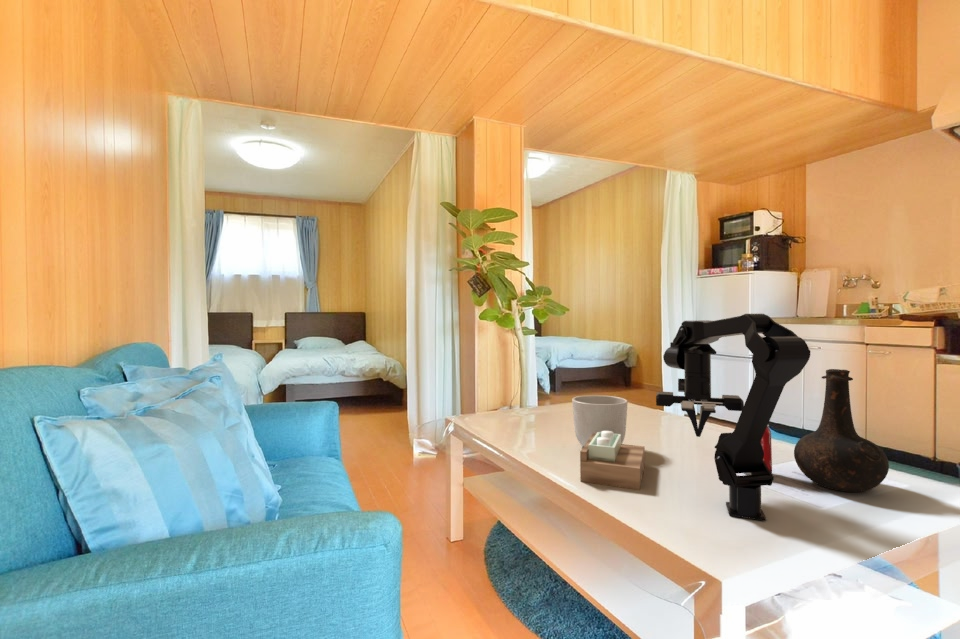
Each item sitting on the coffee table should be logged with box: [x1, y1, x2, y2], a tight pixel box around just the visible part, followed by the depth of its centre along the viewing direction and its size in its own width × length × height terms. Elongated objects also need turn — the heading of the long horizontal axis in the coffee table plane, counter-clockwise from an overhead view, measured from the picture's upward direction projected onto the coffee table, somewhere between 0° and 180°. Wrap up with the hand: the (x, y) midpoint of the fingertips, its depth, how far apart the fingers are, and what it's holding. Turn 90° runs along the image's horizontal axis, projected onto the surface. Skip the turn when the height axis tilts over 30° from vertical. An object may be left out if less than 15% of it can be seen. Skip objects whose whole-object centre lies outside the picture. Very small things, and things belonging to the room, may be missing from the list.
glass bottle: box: [793, 368, 890, 493], centre depth 107 cm, size 18×18×28 cm
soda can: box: [744, 424, 773, 475], centre depth 115 cm, size 7×7×13 cm
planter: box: [571, 394, 629, 447], centre depth 140 cm, size 17×17×15 cm
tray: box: [588, 431, 621, 462], centre depth 118 cm, size 14×6×5 cm, turn 156°
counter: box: [579, 433, 646, 490], centre depth 117 cm, size 20×14×8 cm
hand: (698, 436), depth 107 cm, fingers closed
